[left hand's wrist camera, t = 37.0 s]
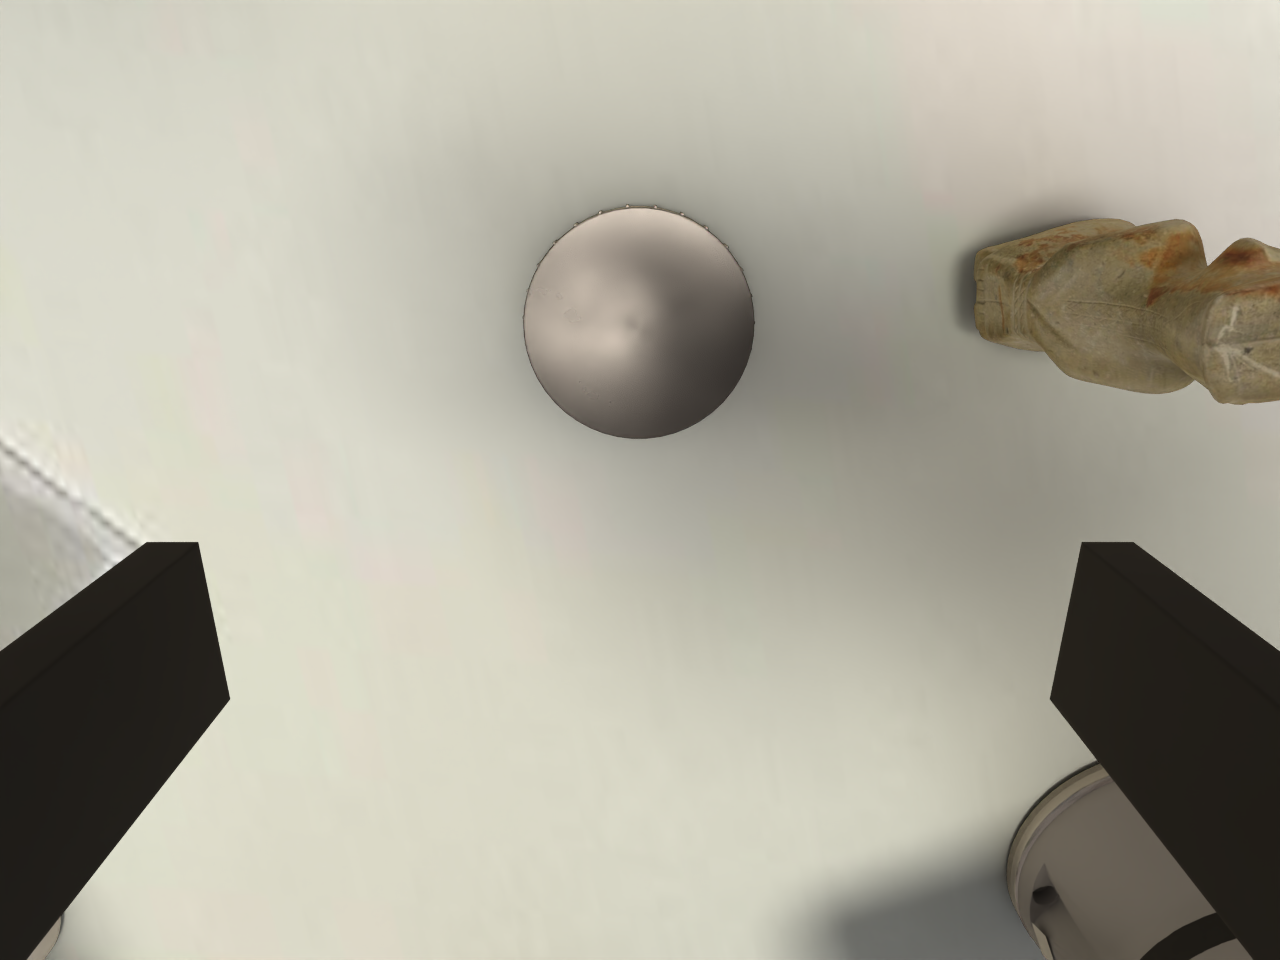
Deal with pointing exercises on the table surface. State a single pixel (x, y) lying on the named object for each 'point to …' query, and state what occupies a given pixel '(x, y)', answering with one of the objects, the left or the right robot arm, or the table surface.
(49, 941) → the bust sculpture
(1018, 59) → the table surface
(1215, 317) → the sculpture
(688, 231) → the lid
